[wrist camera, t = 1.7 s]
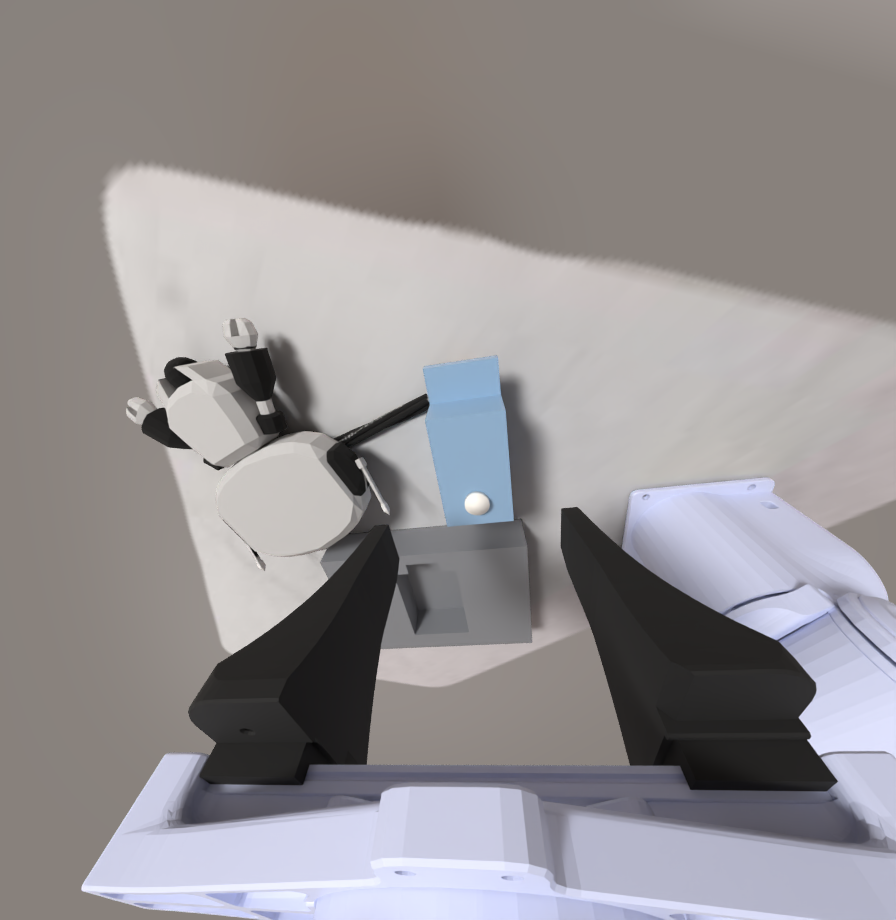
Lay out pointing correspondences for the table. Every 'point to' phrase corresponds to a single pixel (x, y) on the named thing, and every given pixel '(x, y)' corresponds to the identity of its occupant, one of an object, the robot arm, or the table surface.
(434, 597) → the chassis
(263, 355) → the robot toy
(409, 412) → the electrical cable
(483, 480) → the block
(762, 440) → the table surface
